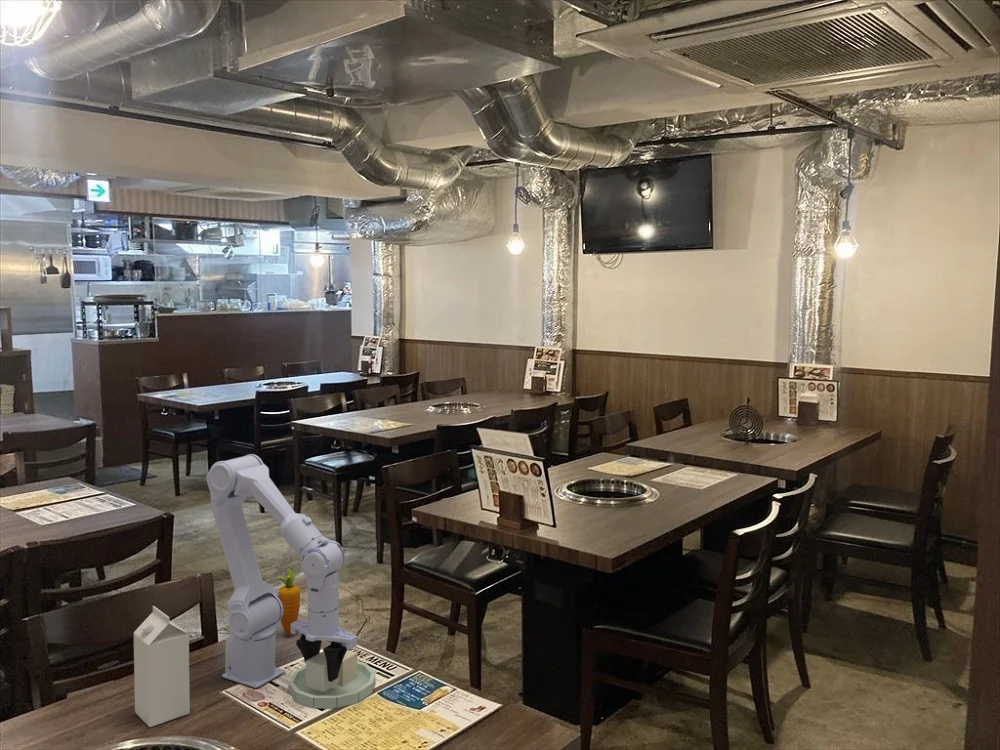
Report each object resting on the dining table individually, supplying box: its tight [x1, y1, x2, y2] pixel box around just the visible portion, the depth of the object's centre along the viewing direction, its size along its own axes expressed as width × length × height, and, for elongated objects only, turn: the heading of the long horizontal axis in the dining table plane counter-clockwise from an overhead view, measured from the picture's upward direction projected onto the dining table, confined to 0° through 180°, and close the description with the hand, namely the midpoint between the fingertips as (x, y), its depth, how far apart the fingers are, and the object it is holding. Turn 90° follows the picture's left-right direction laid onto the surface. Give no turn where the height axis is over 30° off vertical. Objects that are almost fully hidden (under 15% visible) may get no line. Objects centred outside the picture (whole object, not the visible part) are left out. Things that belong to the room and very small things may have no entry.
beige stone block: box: [337, 649, 358, 686], centre depth 155 cm, size 4×4×5 cm
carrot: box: [277, 568, 301, 636], centre depth 175 cm, size 5×5×15 cm
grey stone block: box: [305, 651, 339, 692], centre depth 150 cm, size 4×4×5 cm
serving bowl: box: [288, 660, 376, 709], centre depth 153 cm, size 16×16×2 cm
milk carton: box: [133, 605, 191, 728], centre depth 141 cm, size 7×7×19 cm
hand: (323, 676), depth 150 cm, fingers closed on grey stone block, 4 cm apart
